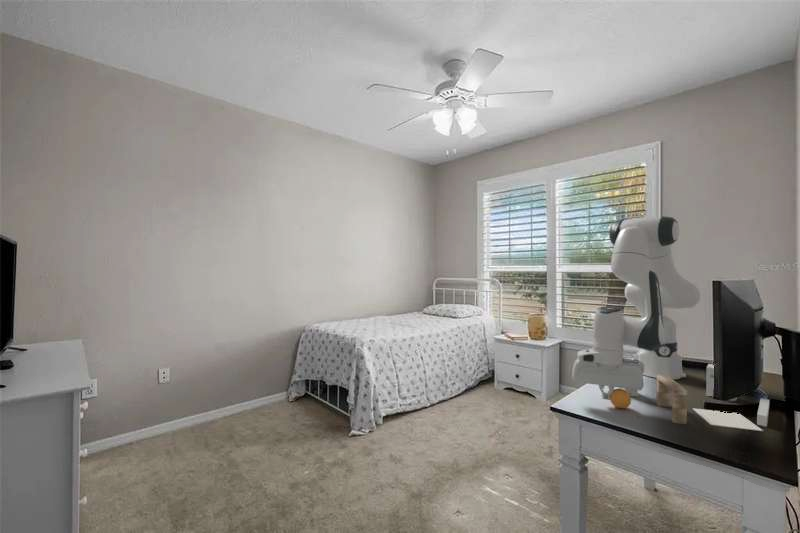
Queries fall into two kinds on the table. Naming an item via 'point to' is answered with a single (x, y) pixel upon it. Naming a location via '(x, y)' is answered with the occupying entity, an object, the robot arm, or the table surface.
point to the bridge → (677, 398)
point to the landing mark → (727, 419)
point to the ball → (620, 398)
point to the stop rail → (763, 412)
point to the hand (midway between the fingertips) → (605, 398)
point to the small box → (710, 380)
